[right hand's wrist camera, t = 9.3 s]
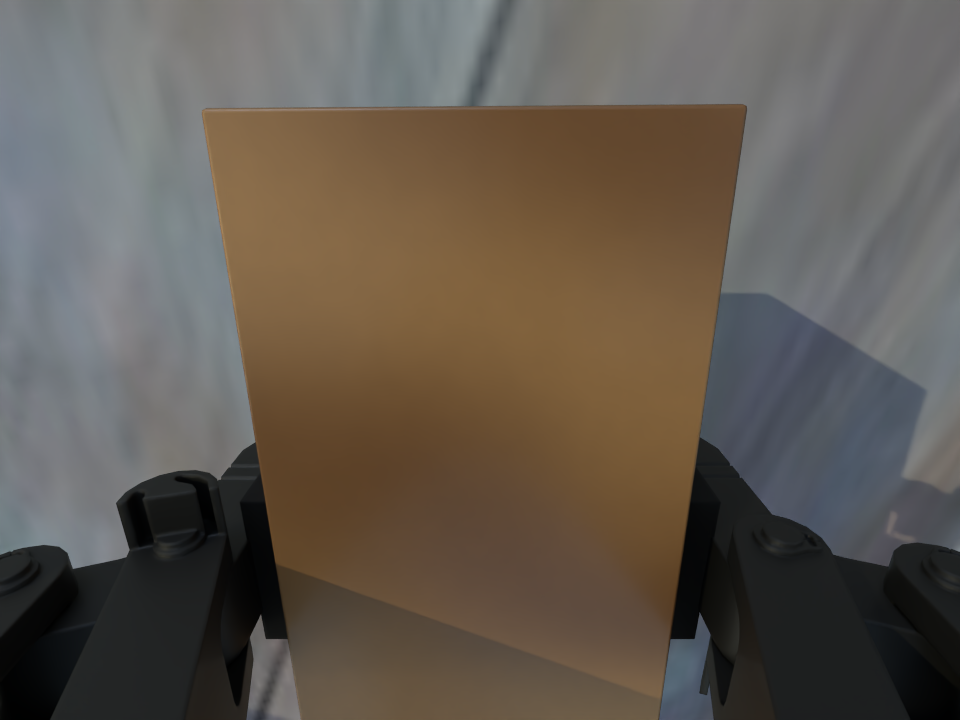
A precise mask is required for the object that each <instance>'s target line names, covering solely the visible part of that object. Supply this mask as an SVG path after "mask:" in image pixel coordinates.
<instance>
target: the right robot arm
mask: <svg viewBox="0 0 960 720" xmlns="http://www.w3.org/2000/svg"><path fill="white" fill-rule="evenodd" d="M116 505H117V508H118V511H119V515H120V518H121V522H122V525H123V529H124V532H125V535H126V539H127V542H128V546H129V549H130V551H129V553H128V555H127V557H126V558H122V559H118V560H114V561H109V562H105V563H100V564H95V565H90V566H85V567H81V568H76V569H73V568H72V565H71V562H70V559H69V556H68V554H67V552H65V551H64V550H63V549H61V548H60V547H56V546H48V545H41V546H34V547H27V548H21V549H17V550H13V552H7V553H4V554H2V555H0V720H246V718H247V709H248V701H249V693H250V684H251V676H252V668H253V652H252V646H251V641H250V636H251V633H252V631H253V629H254V627H255V625H256V623H257V621H258V619H259V617H260V615H261V616H262V621H263V626H264V632H265V637H266V639H288V637H287V631H286V624H285V618H284V612H283V606H282V600H281V594H280V588H279V582H278V576H277V569H276V563H275V557H274V551H273V545H272V539H271V533H270V527H269V520H268V514H267V508H266V502H265V496H264V490H263V484H262V478H261V472H260V465H259V459H258V453H257V447H256V442H255V443H254V444H252V445H251V446H249V447H247V448H246V449H244V450H243V451H242V452H241V453H240V455H239V456H238V457H237V458H236V459H235V461H234V462H233V463H232V464H231V468H228V469H227V471H226V472H225V473H224V474H223V475H222V477H221V480H218V482H217V479H216V478H215V477H214V476H212V475H211V474H210V473H207V472H202V471H197V470H191V471H177V472H172V473H168V474H163V475H159V476H157V477H154V478H152V479H149V480H147V481H144V482H142V483H140V484H138V485H137V486H135V487H134V488H132V489H130V490H129V491H127V492H126V493H125V494H124V495H123V496H122V497H121V498H120V499H119V500H118V501H117V503H116ZM699 613H701V615H702V617H703V620H704V622H705V624H706V626H707V628H708V630H709V632H710V634H711V637H710V641H709V646H708V651H707V656H706V661H705V666H704V670H703V675H702V680H701V686H700V694H704V695H707V692H708V687H709V683H710V691H711V700H712V708H713V716H714V720H960V552H958V551H955V550H953V549H951V550H950V549H948V548H946V547H942V546H937V545H930V544H923V543H911V544H902V545H901V546H900V547H898V548H897V549H896V550H894V552H893V555H892V558H891V561H890V564H889V567H886V566H881V565H877V564H872V563H867V562H862V561H857V560H853V559H848V558H843V557H840V556H836V555H833V554H832V552H831V550H830V548H829V547H828V546H827V544H826V543H825V542H824V541H823V539H822V538H821V537H820V536H818V535H817V534H815V533H814V532H813V531H811V530H810V529H809V528H807V527H805V526H803V525H801V524H799V523H797V522H794V521H792V520H790V519H787V518H783V517H779V516H775V515H772V514H771V513H770V512H769V510H768V509H767V508H766V507H765V505H764V504H763V503H762V502H761V501H760V499H759V498H758V497H757V496H756V494H755V493H754V492H753V491H752V490H751V488H750V487H749V486H748V485H747V484H746V482H745V481H744V480H743V479H742V478H740V477H739V474H738V473H737V471H736V470H735V469H734V468H733V466H730V463H729V462H728V460H727V459H726V458H725V457H724V456H723V454H722V453H721V452H720V451H719V449H718V448H716V447H715V446H713V445H711V444H710V443H708V442H706V441H705V440H703V439H702V438H699V445H698V452H697V459H696V466H695V472H694V479H693V486H692V493H691V500H690V507H689V514H688V521H687V528H686V535H685V542H684V549H683V556H682V562H681V569H680V576H679V583H678V590H677V597H676V604H675V611H674V618H673V625H672V632H671V639H695V634H696V629H697V623H698V618H699Z"/></svg>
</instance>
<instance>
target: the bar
mask: <svg viewBox="0 0 960 720" xmlns="http://www.w3.org/2000/svg"><path fill="white" fill-rule="evenodd" d="M746 112H747V106H745V105H743V104H703V105H573V106H443V107H313V108H206V109H204V110H202V117H203V123H204V129H205V135H206V141H207V147H208V154H209V160H210V166H211V172H212V178H213V184H214V190H215V196H216V202H217V209H218V215H219V221H220V227H221V233H222V239H223V245H224V251H225V258H226V264H227V270H228V276H229V282H230V288H231V294H232V300H233V306H234V313H235V319H236V325H237V331H238V337H239V343H240V349H241V355H242V361H243V368H244V374H245V380H246V386H247V392H248V398H249V404H250V410H251V417H252V423H253V429H254V435H255V441H256V447H257V453H258V459H259V465H260V472H261V478H262V484H263V490H264V496H265V502H266V508H267V514H268V520H269V527H270V533H271V539H272V545H273V551H274V557H275V563H276V569H277V576H278V582H279V588H280V594H281V600H282V606H283V612H284V618H285V624H286V631H287V637H288V643H289V649H290V655H291V661H292V667H293V673H294V680H295V686H296V692H297V698H298V704H299V710H300V716H301V720H659V715H660V708H661V701H662V694H663V687H664V680H665V673H666V666H667V659H668V652H669V646H670V639H671V632H672V625H673V618H674V611H675V604H676V597H677V590H678V583H679V576H680V569H681V562H682V556H683V549H684V542H685V535H686V528H687V521H688V514H689V507H690V500H691V493H692V486H693V479H694V472H695V466H696V459H697V452H698V445H699V438H700V431H701V424H702V417H703V410H704V403H705V396H706V389H707V382H708V376H709V369H710V362H711V355H712V348H713V341H714V334H715V327H716V320H717V313H718V306H719V299H720V292H721V286H722V279H723V272H724V265H725V258H726V251H727V244H728V237H729V230H730V223H731V216H732V209H733V202H734V196H735V189H736V182H737V175H738V168H739V161H740V154H741V147H742V140H743V133H744V126H745V119H746Z"/></svg>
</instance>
